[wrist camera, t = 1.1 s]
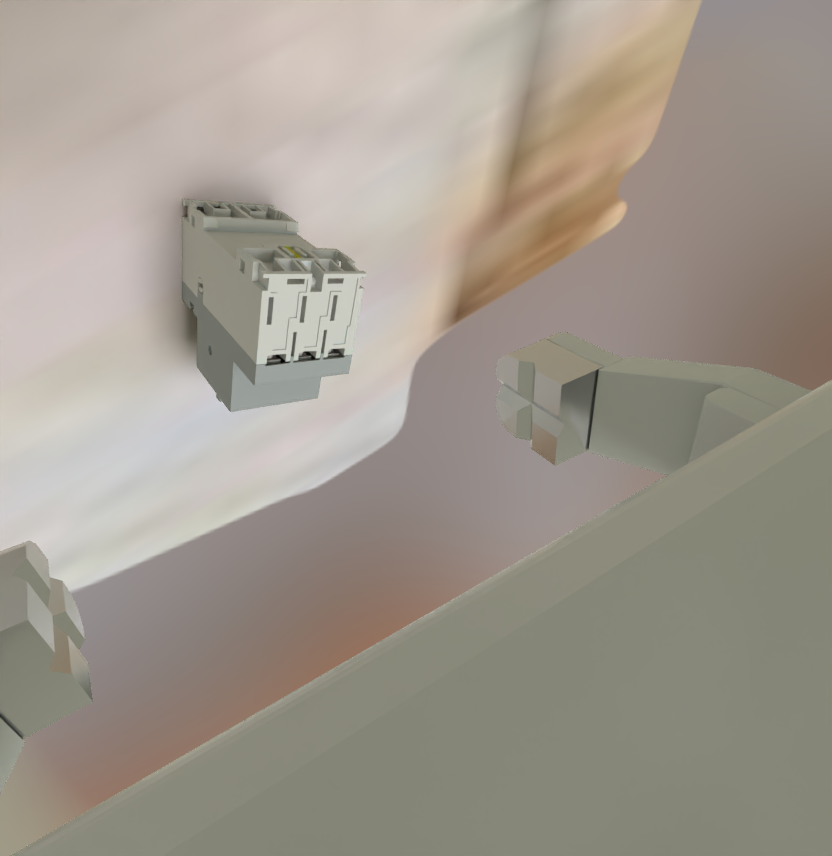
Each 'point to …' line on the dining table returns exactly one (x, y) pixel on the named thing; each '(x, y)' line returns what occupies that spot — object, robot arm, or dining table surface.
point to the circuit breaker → (265, 304)
